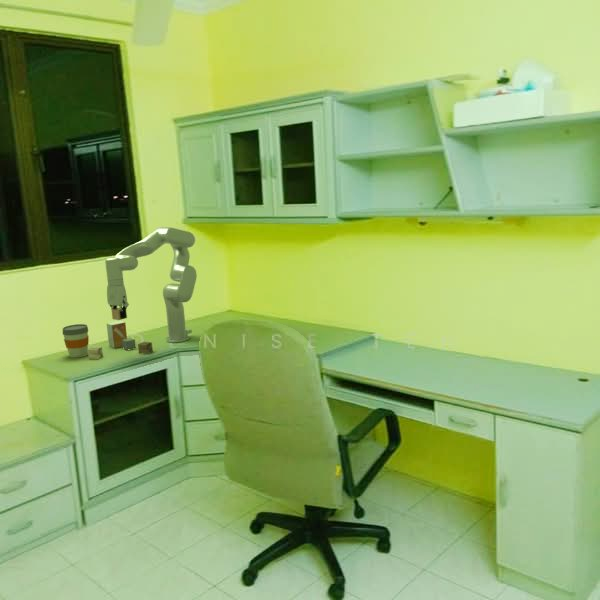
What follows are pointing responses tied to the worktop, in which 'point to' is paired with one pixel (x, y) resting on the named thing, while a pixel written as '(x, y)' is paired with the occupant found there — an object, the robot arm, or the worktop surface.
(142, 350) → the walnut cube
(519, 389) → the worktop surface
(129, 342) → the slate grey cube
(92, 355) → the pale oak cube
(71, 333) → the reusable coffee cup
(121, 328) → the small box
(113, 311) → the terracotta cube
